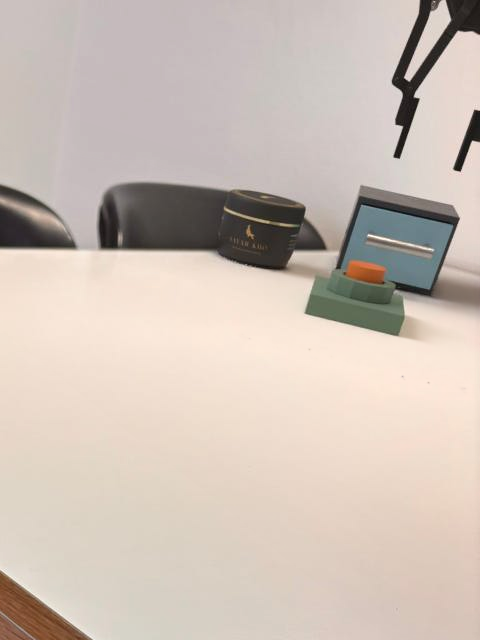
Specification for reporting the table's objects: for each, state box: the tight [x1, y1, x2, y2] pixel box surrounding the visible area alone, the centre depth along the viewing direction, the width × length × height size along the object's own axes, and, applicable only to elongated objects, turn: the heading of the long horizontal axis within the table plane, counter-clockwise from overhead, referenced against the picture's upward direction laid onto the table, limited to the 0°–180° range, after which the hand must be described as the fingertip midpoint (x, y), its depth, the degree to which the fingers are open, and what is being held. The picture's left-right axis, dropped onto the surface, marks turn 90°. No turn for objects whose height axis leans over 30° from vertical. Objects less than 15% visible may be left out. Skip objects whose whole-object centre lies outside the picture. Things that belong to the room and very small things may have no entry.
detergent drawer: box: [341, 204, 453, 290], centre depth 138 cm, size 20×11×8 cm, turn 162°
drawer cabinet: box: [334, 184, 461, 296], centre depth 143 cm, size 15×13×10 cm
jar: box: [216, 188, 307, 270], centre depth 135 cm, size 10×10×8 cm
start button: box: [346, 260, 386, 284], centre depth 117 cm, size 4×4×2 cm
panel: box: [304, 268, 406, 337], centre depth 118 cm, size 12×10×4 cm
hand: (426, 163), depth 128 cm, fingers open, 6 cm apart
